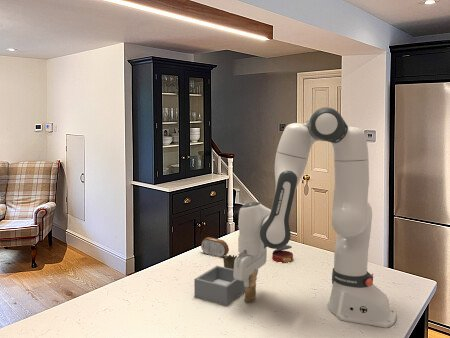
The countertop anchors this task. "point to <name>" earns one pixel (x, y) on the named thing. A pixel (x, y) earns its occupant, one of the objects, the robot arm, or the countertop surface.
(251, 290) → the oak peg
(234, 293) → the socket box
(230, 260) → the ornate bronze lampshade
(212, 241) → the tin
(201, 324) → the countertop surface
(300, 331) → the countertop surface
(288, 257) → the canned food
